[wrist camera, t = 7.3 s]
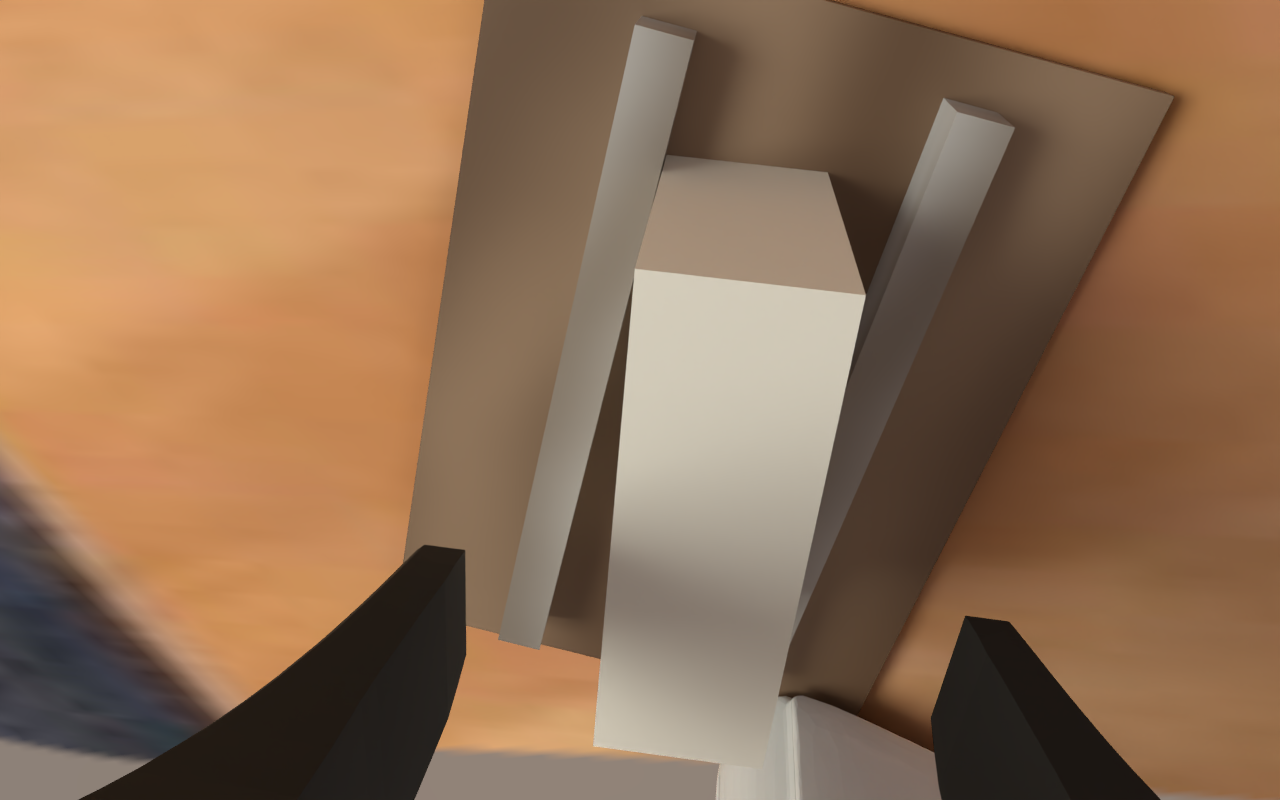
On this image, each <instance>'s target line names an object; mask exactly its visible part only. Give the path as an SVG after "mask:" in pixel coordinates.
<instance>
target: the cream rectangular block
mask: <svg viewBox="0 0 1280 800" xmlns="http://www.w3.org/2000/svg"><path fill="white" fill-rule="evenodd" d="M865 297H866V294H865V291H864V287H863V284H862V281H861V278H860V275H859V271H858V268H857V265H856V262H855V258H854V255H853V252H852V249H851V246H850V242H849V239H848V236H847V233H846V230H845V226H844V223H843V220H842V217H841V213H840V210H839V207H838V204H837V201H836V197H835V194H834V191H833V188H832V184H831V181H830V178H829V175H828V172H820V171H811V170H801V169H792V168H783V167H774V166H765V165H756V164H747V163H738V162H728V161H719V160H710V159H701V158H692V157H683V156H674V155H667V156H666V159H665V163H664V166H663V170H662V174H661V177H660V181H659V184H658V188H657V191H656V195H655V198H654V202H653V206H652V209H651V213H650V216H649V220H648V223H647V227H646V230H645V234H644V238H643V241H642V245H641V248H640V252H639V255H638V259H637V263H636V266H635V272H634V283H633V295H632V306H631V318H630V329H629V340H628V352H627V363H626V375H625V386H624V398H623V409H622V421H621V432H620V444H619V455H618V467H617V478H616V490H615V501H614V513H613V524H612V535H611V547H610V558H609V570H608V581H607V593H606V604H605V616H604V627H603V639H602V650H601V662H600V673H599V685H598V696H597V708H596V719H595V731H594V742H593V746H596V747H603V748H611V749H618V750H625V751H633V752H640V753H647V754H654V755H662V756H669V757H676V758H684V759H691V760H698V761H706V762H713V763H720V764H728V765H735V766H742V767H750V768H757V769H762V768H763V763H764V759H765V754H766V749H767V745H768V740H769V736H770V731H771V727H772V722H773V718H774V713H775V708H776V704H777V699H778V695H779V690H780V686H781V681H782V676H783V672H784V667H785V663H786V658H787V654H788V649H789V644H790V640H791V635H792V631H793V626H794V622H795V617H796V612H797V608H798V603H799V599H800V594H801V590H802V585H803V580H804V576H805V571H806V567H807V562H808V558H809V553H810V549H811V544H812V539H813V535H814V530H815V526H816V521H817V517H818V512H819V507H820V503H821V498H822V494H823V489H824V485H825V480H826V475H827V471H828V466H829V462H830V457H831V453H832V448H833V443H834V439H835V434H836V430H837V425H838V421H839V416H840V411H841V407H842V402H843V398H844V393H845V389H846V384H847V379H848V375H849V370H850V366H851V361H852V357H853V352H854V348H855V343H856V338H857V334H858V329H859V325H860V320H861V316H862V311H863V306H864V302H865Z"/></svg>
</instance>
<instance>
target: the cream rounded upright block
mask: <svg viewBox="0 0 1280 800" xmlns="http://www.w3.org/2000/svg"><path fill="white" fill-rule="evenodd" d="M716 800H942V799H941V795H940V790H939V785H938V777H937V769H936V762H935V753H934V752H932V751H930V750H928V749H926V748H923V747H921V746H919V745H918V744H915V743H913V742H911V741H909V740H907V739H905V738H902V737H900V736H898V735H896V734H894V733H892V732H890V731H888V730H886V729H884V728H881V727H879V726H877V725H875V724H873V723H871V722H868V721H866V720H864V719H862V718H860V717H857V716H855V715H853V714H850V713H848V712H846V711H843V710H841V709H839V708H837V707H834V706H832V705H829V704H826V703H823V702H820V701H818V700H815V699H812V698H809V697H806V696H796V697H793V698H790V697H787V696H781V697H778V699H777V704H776V708H775V713H774V718H773V722H772V727H771V731H770V736H769V740H768V745H767V749H766V754H765V759H764V763H763V768H762V769H757V768H750V767H742V766H735V765H728V764H720V766H719V770H718V777H717V789H716Z"/></svg>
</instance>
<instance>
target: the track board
mask: <svg viewBox="0 0 1280 800" xmlns="http://www.w3.org/2000/svg"><path fill="white" fill-rule="evenodd" d="M1173 98H1174V96H1173V95H1170V94H1168V93H1166V92H1163V91H1160V90H1156V89H1152V88H1149V87H1145V86H1141V85H1138V84H1134V83H1130V82H1127V81H1123V80H1119V79H1116V78H1112V77H1108V76H1105V75H1101V74H1097V73H1094V72H1090V71H1087V70H1083V69H1079V68H1076V67H1072V66H1068V65H1065V64H1061V63H1057V62H1054V61H1050V60H1046V59H1043V58H1039V57H1035V56H1032V55H1028V54H1025V53H1021V52H1017V51H1014V50H1010V49H1006V48H1003V47H999V46H995V45H992V44H988V43H984V42H981V41H977V40H973V39H970V38H966V37H962V36H959V35H955V34H952V33H948V32H944V31H941V30H937V29H933V28H930V27H926V26H922V25H919V24H915V23H911V22H908V21H904V20H900V19H897V18H893V17H890V16H886V15H882V14H879V13H875V12H871V11H868V10H864V9H860V8H857V7H853V6H849V5H846V4H842V3H838V2H835V1H831V0H484V7H483V14H482V21H481V28H480V35H479V42H478V49H477V56H476V63H475V69H474V76H473V83H472V90H471V97H470V104H469V111H468V118H467V125H466V132H465V139H464V145H463V152H462V159H461V166H460V173H459V180H458V187H457V194H456V201H455V208H454V215H453V222H452V228H451V235H450V242H449V249H448V256H447V263H446V270H445V277H444V284H443V291H442V298H441V304H440V311H439V318H438V325H437V332H436V339H435V346H434V353H433V360H432V367H431V374H430V381H429V387H428V394H427V401H426V408H425V415H424V422H423V429H422V436H421V443H420V450H419V457H418V463H417V470H416V477H415V484H414V491H413V498H412V505H411V512H410V519H409V526H408V533H407V539H406V546H405V553H404V560H403V563H404V562H405V561H406V560H407V559H408V558H409V557H410V556H411V555H412V554H413V553H414V552H415V551H416V550H417V549H419V548H420V547H422V546H423V545H432V546H439V547H447V548H454V549H462V550H465V574H466V626H470V627H474V628H478V629H482V630H486V631H490V632H494V633H498V634H499V638H498V640H502V641H506V642H510V643H514V644H518V645H522V646H526V647H530V648H534V649H538V650H539V649H540V645H541V644H542V645H546V646H550V647H554V648H558V649H562V650H566V651H570V652H574V653H579V654H583V655H587V656H591V657H595V658H599V659H601V650H602V639H603V627H604V616H605V604H606V593H607V581H608V570H609V558H610V547H611V535H612V524H613V513H614V501H615V490H616V478H617V467H618V455H619V444H620V432H621V421H622V409H623V398H624V386H625V375H626V363H627V352H628V340H629V329H630V318H631V306H632V295H633V283H634V272H635V266H636V263H637V259H638V255H639V252H640V248H641V245H642V241H643V238H644V234H645V230H646V227H647V223H648V220H649V216H650V213H651V209H652V206H653V202H654V198H655V195H656V191H657V188H658V184H659V181H660V177H661V174H662V170H663V166H664V163H665V159H666V156H667V155H674V156H683V157H692V158H701V159H710V160H719V161H728V162H738V163H747V164H756V165H765V166H774V167H783V168H792V169H801V170H811V171H820V172H828V175H829V178H830V181H831V184H832V188H833V191H834V194H835V197H836V201H837V204H838V207H839V210H840V213H841V217H842V220H843V223H844V226H845V230H846V233H847V236H848V239H849V242H850V246H851V249H852V252H853V255H854V258H855V262H856V265H857V268H858V271H859V275H860V278H861V281H862V284H863V287H864V291H865V294H866V297H865V302H864V306H863V311H862V316H861V320H860V325H859V329H858V334H857V338H856V343H855V348H854V352H853V357H852V361H851V366H850V370H849V375H848V379H847V384H846V389H845V393H844V398H843V402H842V407H841V411H840V416H839V421H838V425H837V430H836V434H835V439H834V443H833V448H832V453H831V457H830V462H829V466H828V471H827V475H826V480H825V485H824V489H823V494H822V498H821V503H820V507H819V512H818V517H817V521H816V526H815V530H814V535H813V539H812V544H811V549H810V553H809V558H808V562H807V567H806V571H805V576H804V580H803V585H802V590H801V594H800V599H799V603H798V608H797V612H796V617H795V622H794V626H793V631H792V635H791V640H790V644H789V649H788V654H787V658H786V663H785V667H784V672H783V676H782V681H781V686H780V690H779V695H778V697H781V696H787V697H790V698H793V697H796V696H806V697H809V698H812V699H815V700H818V701H820V702H823V703H826V704H829V705H832V706H834V707H837V708H839V709H841V710H843V711H846V712H848V713H850V714H853V715H855V716H857V715H858V713H859V711H860V709H861V707H862V705H863V704H864V702H865V700H866V698H867V696H868V694H869V692H870V690H871V688H872V686H873V684H874V682H875V680H876V678H877V676H878V674H879V672H880V670H881V668H882V666H883V664H884V663H885V661H886V659H887V657H888V655H889V653H890V651H891V649H892V647H893V645H894V643H895V641H896V639H897V637H898V635H899V633H900V631H901V629H902V627H903V625H904V623H905V622H906V620H907V618H908V616H909V614H910V612H911V610H912V608H913V606H914V604H915V602H916V600H917V598H918V596H919V594H920V592H921V590H922V588H923V586H924V584H925V582H926V581H927V579H928V577H929V575H930V573H931V571H932V569H933V567H934V565H935V563H936V561H937V559H938V557H939V555H940V553H941V551H942V549H943V547H944V545H945V543H946V541H947V540H948V538H949V536H950V534H951V532H952V530H953V528H954V526H955V524H956V522H957V520H958V518H959V516H960V514H961V512H962V510H963V508H964V506H965V504H966V502H967V500H968V499H969V497H970V495H971V493H972V491H973V489H974V487H975V485H976V483H977V481H978V479H979V477H980V475H981V473H982V471H983V469H984V467H985V465H986V463H987V461H988V460H989V458H990V456H991V454H992V452H993V450H994V448H995V446H996V444H997V442H998V440H999V438H1000V436H1001V434H1002V432H1003V430H1004V428H1005V426H1006V424H1007V422H1008V420H1009V419H1010V417H1011V415H1012V413H1013V411H1014V409H1015V407H1016V405H1017V403H1018V401H1019V399H1020V397H1021V395H1022V393H1023V391H1024V389H1025V387H1026V385H1027V383H1028V381H1029V379H1030V378H1031V376H1032V374H1033V372H1034V370H1035V368H1036V366H1037V364H1038V362H1039V360H1040V358H1041V356H1042V354H1043V352H1044V350H1045V348H1046V346H1047V344H1048V342H1049V340H1050V338H1051V337H1052V335H1053V333H1054V331H1055V329H1056V327H1057V325H1058V323H1059V321H1060V319H1061V317H1062V315H1063V313H1064V311H1065V309H1066V307H1067V305H1068V303H1069V301H1070V299H1071V297H1072V296H1073V294H1074V292H1075V290H1076V288H1077V286H1078V284H1079V282H1080V280H1081V278H1082V276H1083V274H1084V272H1085V270H1086V268H1087V266H1088V264H1089V262H1090V260H1091V258H1092V256H1093V255H1094V253H1095V251H1096V249H1097V247H1098V245H1099V243H1100V241H1101V239H1102V237H1103V235H1104V233H1105V231H1106V229H1107V227H1108V225H1109V223H1110V221H1111V219H1112V217H1113V215H1114V214H1115V212H1116V210H1117V208H1118V206H1119V204H1120V202H1121V200H1122V198H1123V196H1124V194H1125V192H1126V190H1127V188H1128V186H1129V184H1130V182H1131V180H1132V178H1133V176H1134V174H1135V173H1136V171H1137V169H1138V167H1139V165H1140V163H1141V161H1142V159H1143V157H1144V155H1145V153H1146V151H1147V149H1148V147H1149V145H1150V143H1151V141H1152V139H1153V137H1154V135H1155V133H1156V132H1157V130H1158V128H1159V126H1160V124H1161V122H1162V120H1163V118H1164V116H1165V114H1166V112H1167V110H1168V108H1169V106H1170V104H1171V102H1172V100H1173Z"/></svg>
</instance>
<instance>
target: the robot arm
mask: <svg viewBox="0 0 1280 800" xmlns="http://www.w3.org/2000/svg"><path fill="white" fill-rule="evenodd" d="M465 657H466V574H465V550H462V549H454V548H447V547H439V546H432V545H423V546H422V547H420V548H419V549H417V550H416V551H415V552H414V553H413V554H412V555H411V556H410V557H409V558H408V559H407V560H406V561H405V562H404V563H403V564H402V565H401V566H400V567H399V568H398V569H397V570H396V571H395V572H394V573H393V574H392V575H391V576H390V577H389V578H388V579H387V580H386V581H385V582H384V583H383V584H382V585H381V586H380V587H379V588H378V589H377V590H376V591H375V592H374V593H373V594H372V595H371V596H370V597H369V598H368V599H367V600H365V601H364V602H363V603H362V604H361V605H360V606H359V607H358V608H357V609H356V610H355V611H354V612H352V613H351V614H350V615H349V616H348V617H347V618H346V619H345V620H344V621H342V622H341V623H340V624H339V625H338V626H337V627H336V628H335V629H334V630H333V631H331V632H330V633H329V634H328V635H327V636H326V637H325V638H324V639H322V640H321V641H320V642H319V643H318V644H317V645H315V646H314V647H313V648H312V649H310V650H309V651H308V652H307V653H305V654H304V655H303V656H302V657H301V658H299V659H298V660H297V661H296V662H294V663H293V664H292V665H291V666H290V667H288V668H287V669H286V670H285V671H283V672H282V673H281V674H280V675H279V676H277V677H276V678H275V679H273V680H272V681H271V682H269V683H268V684H267V685H265V686H264V687H263V688H262V689H260V690H259V691H258V692H256V693H255V694H253V695H252V696H251V697H249V698H248V699H247V700H245V701H244V702H242V703H241V704H240V705H238V706H237V707H235V708H234V709H232V710H231V711H229V712H228V713H227V714H225V715H224V716H222V717H221V718H219V719H218V720H216V721H215V722H213V723H212V724H210V725H209V726H207V727H206V728H204V729H203V730H201V731H199V732H198V733H196V734H195V735H193V736H191V737H190V738H188V739H187V740H185V741H183V742H182V743H180V744H178V745H177V746H175V747H173V748H172V749H170V750H168V751H167V752H165V753H163V754H162V755H160V756H158V757H157V758H155V759H153V760H152V761H150V762H148V763H147V764H145V765H143V766H142V767H140V768H138V769H136V770H134V771H133V772H131V773H129V774H127V775H125V776H123V777H121V778H120V779H118V780H116V781H114V782H112V783H110V784H108V785H106V786H105V787H103V788H101V789H99V790H97V791H95V792H93V793H91V794H89V795H87V796H85V797H83V798H81V799H79V800H414V799H415V797H416V794H417V792H418V790H419V787H420V785H421V782H422V780H423V778H424V775H425V773H426V771H427V768H428V765H429V763H430V761H431V759H432V756H433V754H434V751H435V749H436V747H437V744H438V742H439V739H440V737H441V734H442V732H443V730H444V727H445V725H446V722H447V720H448V717H449V713H450V710H451V706H452V703H453V700H454V696H455V693H456V689H457V686H458V682H459V679H460V675H461V671H462V668H463V664H464V660H465ZM931 724H932V734H933V743H934V753H935V762H936V769H937V777H938V785H939V790H940V795H941V799H942V800H1160V798H1159V797H1158V796H1157V795H1156V794H1155V793H1154V792H1153V791H1152V790H1151V789H1150V788H1149V787H1148V786H1147V785H1146V784H1145V783H1144V781H1143V780H1142V779H1141V778H1140V777H1139V776H1138V775H1137V774H1136V773H1135V772H1134V771H1133V770H1132V769H1131V768H1130V766H1129V765H1128V764H1127V763H1126V762H1125V761H1124V760H1123V759H1122V758H1121V756H1120V755H1119V754H1118V753H1117V752H1116V751H1115V750H1114V749H1113V747H1112V746H1111V745H1110V744H1109V743H1108V742H1107V741H1106V739H1105V738H1104V737H1103V736H1102V735H1101V734H1100V732H1099V731H1098V730H1097V729H1096V728H1095V727H1094V725H1093V724H1092V723H1091V722H1090V721H1089V719H1088V718H1087V717H1086V716H1085V715H1084V714H1083V712H1082V711H1081V710H1080V709H1079V707H1078V706H1077V705H1076V704H1075V703H1074V701H1073V700H1072V699H1071V698H1070V697H1069V695H1068V694H1067V693H1066V692H1065V690H1064V689H1063V688H1062V687H1061V685H1060V684H1059V683H1058V682H1057V680H1056V679H1055V678H1054V677H1053V676H1052V674H1051V673H1050V672H1049V671H1048V669H1047V668H1046V667H1045V666H1044V664H1043V663H1042V662H1041V661H1040V659H1039V658H1038V657H1037V655H1036V654H1035V653H1034V652H1033V650H1032V649H1031V648H1030V647H1029V645H1028V644H1027V643H1026V642H1025V640H1024V639H1023V638H1022V637H1021V635H1020V634H1019V633H1018V632H1017V631H1016V629H1015V628H1014V627H1013V626H1012V625H1011V623H1010V622H1008V621H1001V620H993V619H986V618H978V617H970V616H965V619H964V621H963V624H962V627H961V630H960V633H959V636H958V639H957V642H956V645H955V648H954V651H953V654H952V657H951V660H950V663H949V666H948V669H947V672H946V675H945V678H944V681H943V684H942V687H941V690H940V693H939V695H938V698H937V701H936V704H935V707H934V710H933V713H932V716H931Z"/></svg>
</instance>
